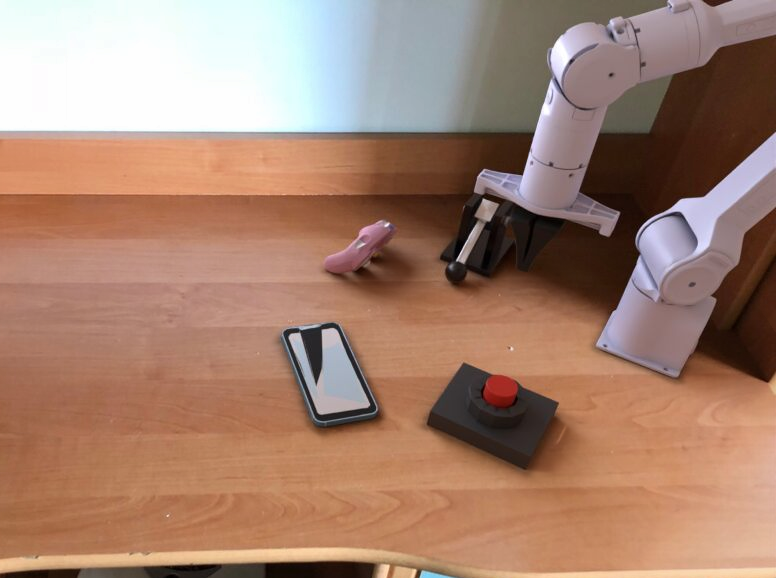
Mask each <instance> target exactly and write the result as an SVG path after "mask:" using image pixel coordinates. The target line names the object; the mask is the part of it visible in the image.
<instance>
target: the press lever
mask: <svg viewBox="0 0 776 578" xmlns="http://www.w3.org/2000/svg"><path fill="white" fill-rule="evenodd" d="M499 209H500V204H499V203H497V202H494V201H492V200H487V199H485V198H483V201H482V202H481V204H480V206H479V208H478V210H477V212H476V214H475V215H474V226H475V227H474V229H473V231H472V233H471V234H470V236H469V238H468V240H467V242H466V244H465V246H464V248H463V249H462V251H461V253H460V255H459V257H458V259H457V261H453V262H451V263H448V264H447V265H446V267H445V269H444V276H445V278H446V280H447V281H448V282H449V283H452V284H460V283H462V282H463V281H464V280H465V279H466V278H467V275H468V270H467V268H466V266H465V265H466V263H467V261H468V259H469V257H470V256H471V254H472V252H473V250H474V248H475V246H476V244H477V242H478V241H479V239H480V237H481V235H482V233H483V231H484V229H485V230H488V231H490V230H491V226H492V222H493V219H494V215H495V214H496V212H497V211H498V210H499Z"/></svg>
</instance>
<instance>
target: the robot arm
mask: <svg viewBox="0 0 776 578" xmlns="http://www.w3.org/2000/svg"><path fill="white" fill-rule="evenodd" d="M772 36H776V0H730V1H727V2H724V3H721V4H719V5H716V6H711V5H709V4H708V3H706V2H705V1H703V0H667V6H664V7H660V8H657V9H653V10H650V11H647V12H644V13H640V14H636V15H633V16H630V17H627V18H623V16H621V15H619V16H616V17H613V18H610V20H609V23H608V24H607V25H606V26H605V25H603V24H601V23H598V24H596V22H593V21H591V22H589V21H587V22H582V23H581V22H580V23H578V24H575V25H574V26H572V27H570V28H568V29H567V30H565V32H564V33H563V34H561V35H560V36H559V37H558V39H557V40H556V41H555V43H554V45H553V47H549V48H548V49H547V60H546V61H547V66H548V68H549V71H550V73H551V74H552V77H551V79H550V82H549V85H548V89H547V91H546V92H547V93H546V96H545V99H544V103H543V105H542V106H541V111H540V114H539V118H538V121H537V125H536V128H535V132H534V136H533V137H532V143H531V146H530V150H529V152H528V156H527V159H526V164H525V166H524V171H523V174H522V175H520V174H513V173H505V172H499V171H496V170H490V169H487V168H483V170H482V171H481V172H480V173H479V174H478V176H477V177H476V182H475V186H474V190H473V192H474V194H475V193H478V194H481V195H483V194H484V195H485V194H488V195H491V196H495V197H498V198H500V199H504V200H510V201H513V202H514V204H515V205H514V206H513V209H512V211H511V214H510V223H509V225H510V226H511V229H512V233H513V235H514V240H515V241H514V242H515V247H516V262H515V263H516V264H515V269H516V270H519V271H522V272H524V273H529V272H530V270H531V268H532V267H533V266H534V263H535V261H536V259H537V257H538V255H539V254H540V253H541V251H542V250H543V249H544V248H545V246H547V245H548V243H550V242H551V241H552V240H553V239H554V238H556V236H557V235H558V234H559V233H560V232H561V230H562V229H563V228H564V226H565V224H566V222H567V221H570V222H573V223H577V224H580V225H583V226H586V227H589V228H592V229H594V230H598V233H599V235H602V236H605V237H607V238H610V236H611V235H612V233H613V231H614V230H615V227H616V224H617V222H618V220H619V217H620V215H621V211H618V210H615V209H614V208H613V209H612V208H610V207H608V206H606V205H604V204H602V203H599V201H596V200H594V199H592V198H591V197H589V196H587V195H585V194H584V193H582V192H580V188H581V186H582V183H583V180H584V178H585V175H586V171H587V169H588V167H589V163H590V159H591V156H592V155H593V151H594V148H595V145H596V142H597V140H598V136H599V134H600V130H601V129H602V125H603V122H604V119H605V116H606V112H607V110H608V107H609V106H610V105H611V104H613V103H615V101H617V100H618V99H619V98H620V97H621V96H622V95H623V94H624V93H625V92H626V91H627V90H629V89H631V88H635V87H636V85H639V84H642V83H646V82H650V81H654V80H657V79H661V78H664V77H668V76H671V75H675V74H678V73H682V72H685V71H689V70H694V69H696V68H701V67H703V66H705V65H706V64H707V63H708V62H709V61H710V60H711V58H712V57H713V56H714V54H715V53H716V52H717V50H719V49H720V48H722V47H727V46H732V45H736V44H741V43H746V42H749V41H754V40H758V39H762V38H763V39H764V38H767V37H772ZM775 208H776V131H775V132H774V133H773V134H772V135H771V136H770V137H768V138H767V140H765V141H764V142H763V143H762V144H761V145H760V146H759V147H757V148H756V149H755V150H754V151H753V152H752V153H751V154H750V155H749V156H747V157H746V158H745V159H744V160H743V161H742V162H740V163H739V165H737V166H736V167H735V168H734V169H733V170H732V171H731V172H730V173H729V174H728V175H727V176H726V177H724V179H722V180H721V181H720V182H719V183H718V184H717V185H716V186H715V187H713V188H712V189H711V190H710V191H709V192H708V193H707V194H706V195H705V196H700V197H686V198H681V199H679V200H678V201H677V202H676V203H675V204H674V205H672V207H670V208H669V209H667V210H665V211H664V212H663V211H662V212H661V213H659V214H656V215H654V216H652V217H651V218H649V219H648V220H647V221H646V222H644V223H643V224H642V226H641V227H640V228H639V230H638V231H637V234H636V235H635V247H636V249H637V251H638V252H639V256H638V259H637V261H636V265H635V268H633V271H632V274H631V276H630V277H629V279H628V283H627V285H626V287H625V289H624V292H623V294H622V296H621V299H620V301H619V303H618V305H617V308H616V310H613V311H612V313H611V315H610V317H609V318H608V321H607V323H606V325H605V326H604V328H603V330H602V332H601V334H600V336H599V338H598V340H597V342H596V344H595V347H596V348H597V349H599V350H601V351H603V352H605V353H608V354H611V355H614V356H617V357H619V358H621V359H624V360H627V361H629V362H632V363H634V364H637V365H640V366H642V367H645V368H648V369H649V370H652V371H655V372H658V373H660V374H663V375H665V376H668V377H671V378H673V379H677V378H678V377H679V376H680V373H681V371H682V369H683V367H684V366H685V364H686V362H687V361H688V358H689V357H690V355H693V353H694V351H695V350H696V348H697V346H698V343H699V339H700V337H701V335H702V333H703V331H704V329H705V327H706V326H707V323H708V321H709V319H710V317H711V315H712V313H713V311H714V308H715V306H716V303H717V298H716V297H714V296H712V295H713V294H714V293H715V292H716V291H717V290H718V289H719V288H720V286H721V284H722V282H723V281H724V279H725V278H726V276H727V275H728V273H729V272H731V271H732V270H733V269H734V268H735V267H737V266H738V265H739V263H740V259H741V254H742V248H743V241H744V236H745V234H746V233H747V232H749V230H750V229H752V228H753V227H754V226H755V225H756V224H758V223H759V222H760V221H761V220H762V219H764V218H765V217H766V216H767V215H768V214H769V213H771V212H772V211H773V210H774V209H775Z"/></svg>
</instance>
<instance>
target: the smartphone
mask: <svg viewBox="0 0 776 578" xmlns="http://www.w3.org/2000/svg"><path fill="white" fill-rule="evenodd" d="M280 338H281V341H282V344H283V347H284V350H285V352H286V354H287V358H288V361H289V363H290V366H291V368H292V371H293V373H294V376H295V379H296V381H297V384H298V387H299V389H300V392H301V395H302V398H303V400H304V402H305V405H306V409H307V411H308V414H309V416H310V419H311V422H312V423H313V424H314V425H315V426H317V427H320V428H324V427H330V426H336V425H341V424H347V423H354V422H359V421H360V422H361V421H365V420H370V419H374V418H375V417H377V415H378V412H379V406H378V404H377V401H376V399H375V398H374V395H373V393H372V390H371V389H370V386H369V384H368V382H367V379H366V377H365V375H364V373H363V370H362V368H361V367H360V364H359V362H358V360H357V357H356V355H355V353H354V351H353V348H352V346H351V344H350V342H349V340H348V338H347V336H346V333H345V332H344V330H343V327H342V325H341V324H340V323H338V322H336V321H327V322H325V321H324V322H319V323H313V324H305V325H304V324H303V325H298V326H291V327H286V328H284V329H282V331H281V335H280Z"/></svg>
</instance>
